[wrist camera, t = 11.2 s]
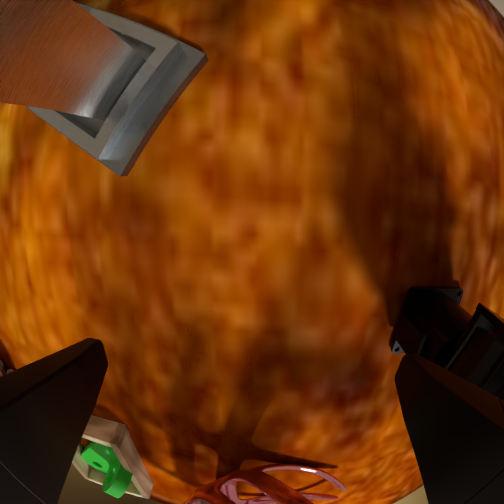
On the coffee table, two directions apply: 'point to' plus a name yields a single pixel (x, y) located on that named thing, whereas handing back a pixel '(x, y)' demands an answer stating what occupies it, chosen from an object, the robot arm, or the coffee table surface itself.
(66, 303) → the coffee table surface
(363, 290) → the coffee table surface
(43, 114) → the housing
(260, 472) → the spiral basket
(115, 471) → the mechanical part
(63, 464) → the robot arm
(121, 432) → the parts corral
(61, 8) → the post
